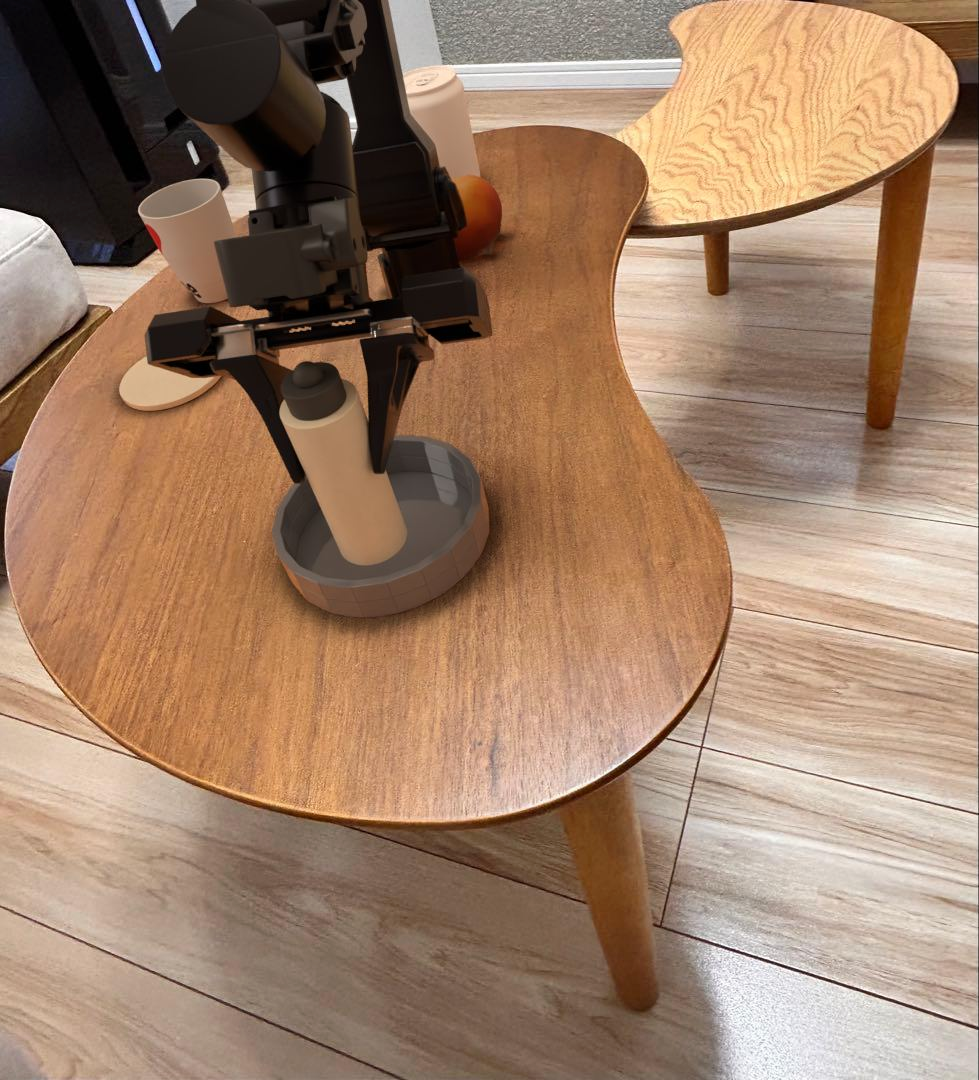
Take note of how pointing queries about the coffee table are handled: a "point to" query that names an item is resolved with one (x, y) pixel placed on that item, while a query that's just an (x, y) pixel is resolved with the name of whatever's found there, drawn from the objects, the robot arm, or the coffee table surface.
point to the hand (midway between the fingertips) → (338, 478)
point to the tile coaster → (160, 387)
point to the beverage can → (443, 116)
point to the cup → (190, 233)
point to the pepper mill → (341, 462)
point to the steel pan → (429, 550)
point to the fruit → (478, 217)
